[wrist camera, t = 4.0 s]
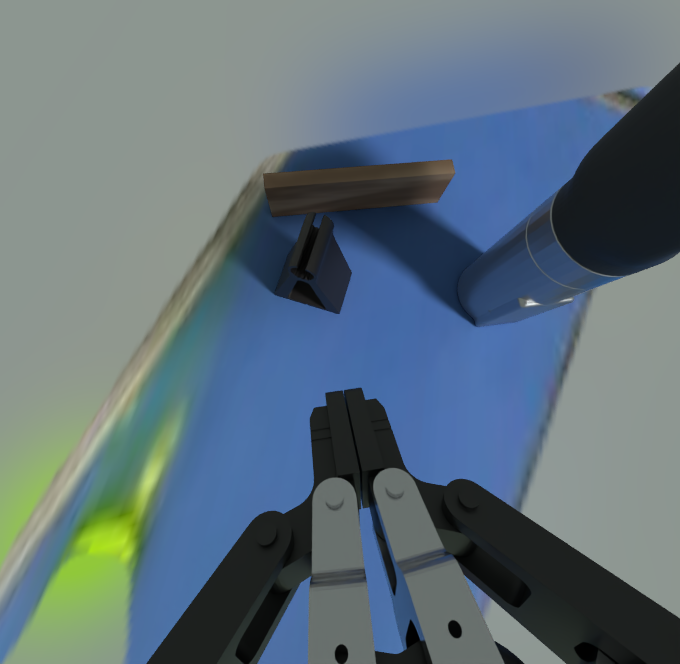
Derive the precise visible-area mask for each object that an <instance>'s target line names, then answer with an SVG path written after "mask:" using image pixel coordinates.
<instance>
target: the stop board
mask: <svg viewBox="0 0 680 664" xmlns="http://www.w3.org/2000/svg"><path fill="white" fill-rule="evenodd" d="M454 174H455V170H454V166H453V161H452V160H439V161H426V162H412V163H399V164H386V165H372V166H359V167H346V168H333V169H319V170H306V171H293V172H279V173H266V174H263V178H264V188H265V192H266V195H267V199H268V203H269V206H270V210H271V213H272V217H277V216H289V215H300V214H308V213H310V212H316V213H323V212H334V211H346V210H357V209H368V208H380V207H391V206H402V205H414V204H425V203H436V202H438V200H439V199H440V197H441V196H442V194H443V192H444V191H445V189H446V187H447V186H448V184H449V183H450V181H451V179H452V178H453V176H454Z"/></svg>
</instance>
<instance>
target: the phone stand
mask: <svg viewBox="0 0 680 664" xmlns="http://www.w3.org/2000/svg"><path fill="white" fill-rule="evenodd" d="M315 216H316V212H310V213H308V214H307V215H306V217H305V220H304V223H303V226H302V229H301V232H300V234H299V237H298V240H297V242H296V243H295V245H294V246H293V248H292V249H291V251H290V252H289V254H288V256H287V259H286V262H285V265H284V268H283V270H282V273H281V276H280V279H279V282H278V284H277V287H276V290H275V293H274V294H275V295H277V296H280V297H283V298H286V299H290V300H293V301H296V302H300V303H303V304H308V305H310V306H313V307H316V308H320V309H323V310H326V311H330V312H333V313H336V314H340V310H341V307H342V304H343V300H344V297H345V294H346V291H347V287H348V284H349V281H350V277H351V274H352V272H351V270H350V268H349V266H348V264H347V262H346V260H345V258H344V256H343V254H342V252H341V250H340V248H339V246H338V244H337V242H336V240H335V238H334V236H333V228H334V223H333V222H332V220H331V219H330V218H329V217H327V216H326V215H324V216H323V219H322V222H321V225H320V228H318V227H314V225H313V222H314V219H315Z"/></svg>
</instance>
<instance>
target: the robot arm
mask: <svg viewBox="0 0 680 664" xmlns="http://www.w3.org/2000/svg"><path fill="white" fill-rule="evenodd" d="M679 252H680V63H679V64H678V65H677V66H676V67H675V68H674V69H673V70H672V71H671V72H670V73H669V74H667V75H666V76H665V77H664V78H663V79H662V80H661V81H660V82H659V83H658V84H657V85H656V86H655V87H654V88H653V89H652V90H651V91H650V92H649V93H648V94H647V95H646V96H645V97H644V98H643V99H642V100H640V101H639V102H638V103H637V104H636V105H635V106H634V107H633V108H632V109H631V110H630V111H629V112H628V113H627V114H626V115H625V116H624V117H623V118H622V119H621V120H620V121H619V122H618V123H617V124H616V125H615V126H614V127H613V128H612V129H611V130H610V131H608V132H607V133H606V134H605V135H604V136H603V137H602V138H601V139H600V140H599V141H598V142H597V143H596V144H595V145H594V146H593V148H592V149H591V150H590V151H589V152H588V153H587V155H586V156H585V157H584V159H583V160H582V162H581V163H580V165H579V167H578V168H577V170H576V172H575V174H574V176H573V178H572V179H571V180H569V181H568V182H567V183H566V184H565V185H564V186H562V187H561V188H560V189H559V190H558V191H556V192H555V193H554V194H553V195H552V196H551V197H549V198H548V199H547V200H546V201H545V202H544V203H542V204H541V205H540V206H539V207H538V208H536V209H535V210H534V211H533V212H532V213H530V214H529V215H528V216H527V217H526V218H525V219H523V220H522V221H521V222H520V223H519V224H518V225H516V226H515V227H514V228H513V229H512V230H511V231H509V232H508V233H507V234H506V235H505V236H503V237H502V238H501V239H500V240H499V241H498V242H496V243H495V244H494V245H493V246H492V247H491V248H489V249H488V250H487V251H486V252H485V253H484V254H482V255H481V256H480V257H479V258H478V259H476V260H475V261H474V262H473V263H472V264H471V265H470V266H469V267H467V268H466V269H465V270H464V272H463V273H462V274H461V276H460V278H459V281H458V286H457V287H458V297H459V300H460V302H461V305H462V306H463V308H464V309H465V311H466V312H467V313H468V314H469V315H470V316H471V317H472V318H473V319H474V321H475V325H476V326H477V327H481V326H489V325H497V324H504V323H512V322H518V321H521V320H524V319H526V318H529V317H532V316H535V315H538V314H540V313H543V312H546V311H549V310H552V309H554V308H557V307H560V306H563V305H565V304H568V303H571V302H573V301H574V297H573V296H576V295H578V294H581V293H583V292H586V291H589V290H591V289H594V288H596V287H599V286H602V285H604V284H607V283H609V282H612V281H615V280H618V279H620V278H623V277H625V276H628V275H631V274H634V273H637V272H639V271H642V270H645V269H648V268H650V267H653V266H656V265H658V264H661V263H663V262H665V261H667V260H669V259H670V258H672V257H674V256H675V255H676V254H678V253H679ZM325 395H326V404H327V406H323V407H316V408H314V409H313V412H312V414H311V417H310V429H311V442H312V457H313V470H314V486H313V489H312V491H311V493H310V495H309V496H308V498H307V499H306V500H305V501H304V502H303V503H302V504H300V505H299V506H297V507H295V508H294V509H292V510H290V511H288V512H286V513H285V514H282V513H280V512H277V511H267V512H264V513H262V514H260V515H259V516H257V517H256V518H255V519H254V520H253V521H252V522H251V523H250V524H249V526H248V527H247V528H246V530H245V531H244V532H243V534H242V535H241V536H240V538H239V539H238V540H237V542H236V543H235V545H234V546H233V547H232V549H231V550H230V551H229V553H228V554H227V555H226V557H225V558H224V559H223V561H222V562H221V563H220V565H219V566H218V568H217V569H216V570H215V572H214V573H213V574H212V576H211V577H210V578H209V580H208V581H207V582H206V584H205V585H204V586H203V588H202V589H201V591H200V592H199V593H198V595H197V596H196V597H195V599H194V600H193V601H192V603H191V604H190V605H189V607H188V608H187V609H186V611H185V612H184V614H183V615H182V616H181V618H180V619H179V620H178V622H177V623H176V624H175V626H174V627H173V628H172V630H171V631H170V632H169V634H168V635H167V636H166V638H165V639H164V641H163V642H162V643H161V645H160V646H159V647H158V649H157V650H156V651H155V653H154V654H153V655H152V657H151V658H150V659H149V661H148V662H147V664H257V663H258V661H259V659H260V657H261V655H262V654H263V652H264V650H265V648H266V646H267V644H268V642H269V641H270V639H271V637H272V635H273V633H274V631H275V629H276V627H277V626H278V624H279V622H280V620H281V618H282V616H283V614H284V613H285V611H286V609H287V607H288V605H289V603H290V601H291V600H292V598H293V596H294V594H295V592H296V590H297V588H298V587H299V585H300V583H301V582H302V581H304V580H305V579H307V578H308V577H310V576H311V575H312V576H311V580H310V588H309V632H308V664H524V663H523V662H522V661H521V660H520V659H519V658H518V657H517V656H515V655H514V654H513V653H511V652H510V651H509V650H508V649H507V648H505V647H504V646H502V645H500V644H499V643H497V642H496V641H494V640H493V638H492V635H491V633H490V631H489V629H488V627H487V625H486V622H485V620H484V618H483V616H482V614H481V611H480V609H479V607H478V605H477V603H476V601H475V598H474V596H473V594H472V592H471V590H470V588H469V585H468V583H467V581H466V579H465V577H464V575H465V576H466V577H467V578H468V579H469V580H471V581H472V582H473V583H474V584H475V585H476V586H478V587H479V588H480V589H481V590H482V591H483V592H484V593H486V594H487V595H488V596H489V597H490V598H491V599H493V600H494V601H495V602H496V603H497V604H498V605H499V606H501V607H502V608H503V609H504V610H505V611H506V612H508V613H509V614H510V615H511V616H512V617H513V618H514V619H516V620H517V621H518V622H519V623H520V624H521V625H522V626H524V627H525V628H526V629H527V630H528V631H529V632H531V633H532V634H533V635H534V636H535V637H536V638H537V639H539V640H540V641H541V642H542V643H543V644H544V645H546V646H547V647H548V648H549V649H550V650H551V651H553V652H554V653H555V654H556V655H557V656H558V657H559V658H561V659H562V660H563V661H564V662H565V663H566V664H680V618H678V617H677V616H675V615H674V614H672V613H671V612H669V611H668V610H666V609H665V608H663V607H662V606H660V605H659V604H657V603H656V602H654V601H653V600H651V599H650V598H648V597H646V596H645V595H643V594H642V593H641V592H639V591H638V590H636V589H635V588H633V587H631V586H630V585H629V584H627V583H626V582H624V581H623V580H621V579H620V578H618V577H617V576H615V575H614V574H612V573H611V572H609V571H607V570H606V569H604V568H603V567H601V566H600V565H598V564H597V563H595V562H594V561H592V560H591V559H589V558H588V557H586V556H585V555H583V554H582V553H580V552H579V551H577V550H576V549H574V548H572V547H571V546H570V545H568V544H567V543H565V542H564V541H562V540H561V539H559V538H558V537H556V536H555V535H553V534H552V533H550V532H549V531H547V530H546V529H544V528H543V527H541V526H540V525H538V524H536V523H535V522H533V521H532V520H531V519H529V518H528V517H526V516H525V515H523V514H522V513H520V512H519V511H517V510H516V509H514V508H513V507H511V506H509V505H508V504H506V503H505V502H503V501H502V500H500V499H499V498H497V497H496V496H494V495H493V494H491V493H490V492H488V491H487V490H485V489H484V488H482V487H481V486H479V485H478V484H476V483H474V482H472V481H470V480H466V479H456V480H453V481H451V482H450V483H449V484H448V485H447V486H442V485H436V484H430V483H426V482H423V481H420V480H418V479H416V478H415V477H414V476H412V475H411V474H410V473H409V472H408V470H407V469H406V467H405V465H404V463H403V460H402V457H401V454H400V452H399V449H398V446H397V443H396V440H395V437H394V434H393V431H392V430H391V426H390V423H389V421H388V417H387V414H386V411H385V408H384V407H383V406H382V405H381V404H380V403H379V401H378V400H377V399H370V400H365V398H364V394H363V391H362V388H355V389H348V390H344V394H343V391H335V392H328V393H325ZM361 501H362V506H363V508H368V507H370V512H371V516H372V521H373V533H374V537H375V540H376V544H377V547H378V551H379V554H380V558H381V562H382V565H383V569H384V572H385V576H386V579H387V583H388V586H389V590H390V594H391V598H392V602H393V609H394V614H395V619H396V623H397V627H398V631H399V635H400V638H401V642H402V645H403V649H404V651H403V652H401V653H399V654H390V653H384V652H378V651H375V650H374V641H373V632H372V623H371V615H370V606H369V597H368V589H367V581H366V574H365V569H364V560H363V551H362V542H361V533H360V520H359V509H361Z"/></svg>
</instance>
